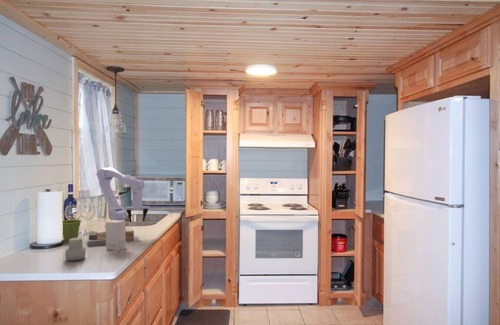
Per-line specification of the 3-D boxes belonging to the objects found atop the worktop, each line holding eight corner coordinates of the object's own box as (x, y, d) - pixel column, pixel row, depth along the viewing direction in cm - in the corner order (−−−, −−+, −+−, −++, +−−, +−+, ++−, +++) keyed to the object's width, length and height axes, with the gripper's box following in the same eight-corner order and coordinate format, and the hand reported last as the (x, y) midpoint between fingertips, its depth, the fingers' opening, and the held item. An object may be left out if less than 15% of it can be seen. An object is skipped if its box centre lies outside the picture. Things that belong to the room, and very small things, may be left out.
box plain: (96, 239, 217) (96, 231, 217) (104, 238, 219) (104, 230, 219) (97, 241, 213) (97, 232, 213) (106, 240, 216) (106, 231, 215)
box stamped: (125, 238, 220) (125, 230, 220) (132, 238, 221) (132, 229, 221) (125, 240, 216) (125, 231, 215) (133, 240, 217) (133, 231, 217)
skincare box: (126, 249, 199) (126, 220, 198) (117, 252, 192) (118, 222, 192) (113, 247, 201) (113, 219, 201) (104, 250, 195) (105, 221, 195)
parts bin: (87, 240, 218) (87, 234, 218) (113, 238, 223) (113, 233, 223) (87, 247, 202) (87, 241, 202) (115, 244, 207) (115, 239, 207)
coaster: (118, 239, 222) (118, 238, 222) (137, 237, 226) (137, 236, 226) (120, 243, 212) (120, 242, 212) (140, 241, 216) (140, 240, 216)
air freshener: (84, 261, 175) (84, 240, 174) (64, 263, 172) (64, 242, 171) (85, 255, 185) (85, 236, 185) (67, 257, 182) (67, 237, 182)
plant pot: (74, 237, 225) (74, 218, 225) (85, 239, 218) (85, 221, 218) (55, 240, 215) (55, 221, 215) (65, 243, 209) (65, 223, 208)
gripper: (125, 200, 219) (125, 223, 219) (150, 199, 225) (150, 221, 225) (124, 199, 226) (124, 221, 226) (148, 198, 232) (148, 220, 232)
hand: (137, 221), depth 226 cm, fingers open, 7 cm apart
